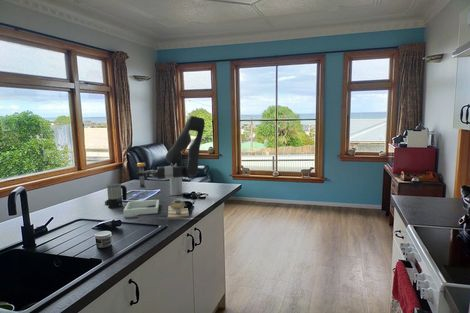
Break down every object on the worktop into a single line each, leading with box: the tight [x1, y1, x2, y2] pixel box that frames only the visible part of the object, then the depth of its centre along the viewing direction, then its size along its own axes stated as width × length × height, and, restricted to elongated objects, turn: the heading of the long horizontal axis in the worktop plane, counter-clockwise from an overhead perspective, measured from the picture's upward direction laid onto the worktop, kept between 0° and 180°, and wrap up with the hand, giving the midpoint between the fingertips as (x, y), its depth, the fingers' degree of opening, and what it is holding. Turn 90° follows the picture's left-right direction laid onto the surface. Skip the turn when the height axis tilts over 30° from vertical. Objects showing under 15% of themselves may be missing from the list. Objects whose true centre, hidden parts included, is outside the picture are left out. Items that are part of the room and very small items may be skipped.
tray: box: [123, 199, 160, 218], centre depth 195 cm, size 19×19×4 cm
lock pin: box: [136, 162, 147, 190], centre depth 193 cm, size 5×5×15 cm
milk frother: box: [104, 183, 128, 209], centre depth 210 cm, size 14×16×15 cm
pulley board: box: [167, 199, 190, 220], centre depth 191 cm, size 25×12×9 cm, turn 11°
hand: (136, 174), depth 192 cm, fingers closed on lock pin, 3 cm apart
